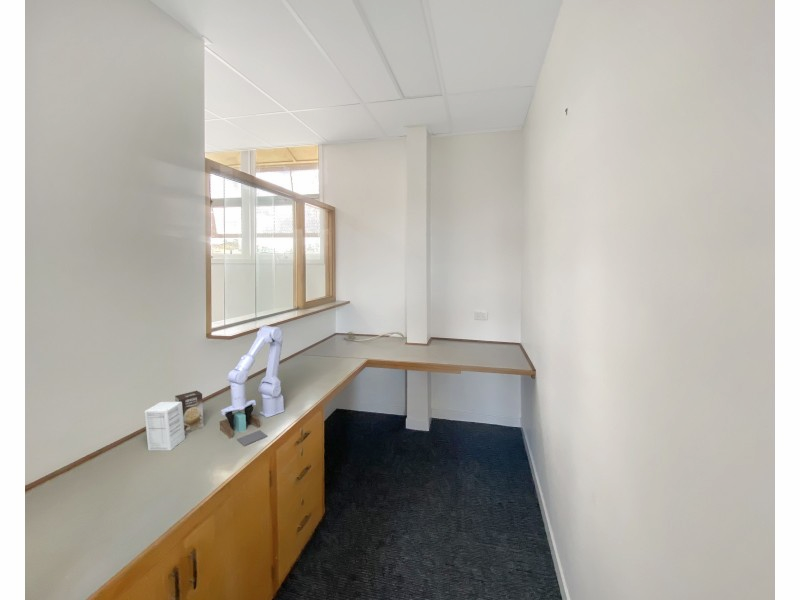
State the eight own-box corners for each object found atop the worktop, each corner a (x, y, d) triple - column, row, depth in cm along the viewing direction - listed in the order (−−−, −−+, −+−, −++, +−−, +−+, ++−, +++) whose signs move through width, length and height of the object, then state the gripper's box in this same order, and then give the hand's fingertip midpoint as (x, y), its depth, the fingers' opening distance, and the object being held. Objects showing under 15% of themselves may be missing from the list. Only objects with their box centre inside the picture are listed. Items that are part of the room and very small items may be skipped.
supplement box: (185, 438, 140) (183, 401, 138) (170, 451, 131) (167, 411, 129) (163, 438, 140) (160, 400, 138) (147, 450, 131) (143, 410, 129)
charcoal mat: (259, 431, 147) (259, 430, 147) (267, 436, 142) (267, 435, 142) (237, 440, 140) (236, 439, 139) (244, 446, 135) (244, 445, 135)
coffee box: (181, 435, 143) (179, 399, 141) (176, 430, 147) (173, 396, 145) (204, 427, 150) (202, 393, 149) (199, 422, 154) (196, 389, 153)
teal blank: (240, 425, 152) (239, 410, 151) (246, 429, 148) (245, 414, 148) (233, 427, 150) (233, 413, 149) (239, 432, 146) (238, 417, 145)
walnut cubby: (248, 419, 158) (248, 411, 157) (259, 427, 150) (259, 419, 150) (220, 429, 148) (219, 421, 147) (229, 438, 141) (229, 429, 140)
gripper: (224, 403, 139) (226, 433, 141) (258, 393, 150) (259, 421, 152) (218, 398, 144) (220, 428, 146) (251, 389, 155) (252, 416, 156)
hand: (239, 424), depth 149 cm, fingers open, 6 cm apart
